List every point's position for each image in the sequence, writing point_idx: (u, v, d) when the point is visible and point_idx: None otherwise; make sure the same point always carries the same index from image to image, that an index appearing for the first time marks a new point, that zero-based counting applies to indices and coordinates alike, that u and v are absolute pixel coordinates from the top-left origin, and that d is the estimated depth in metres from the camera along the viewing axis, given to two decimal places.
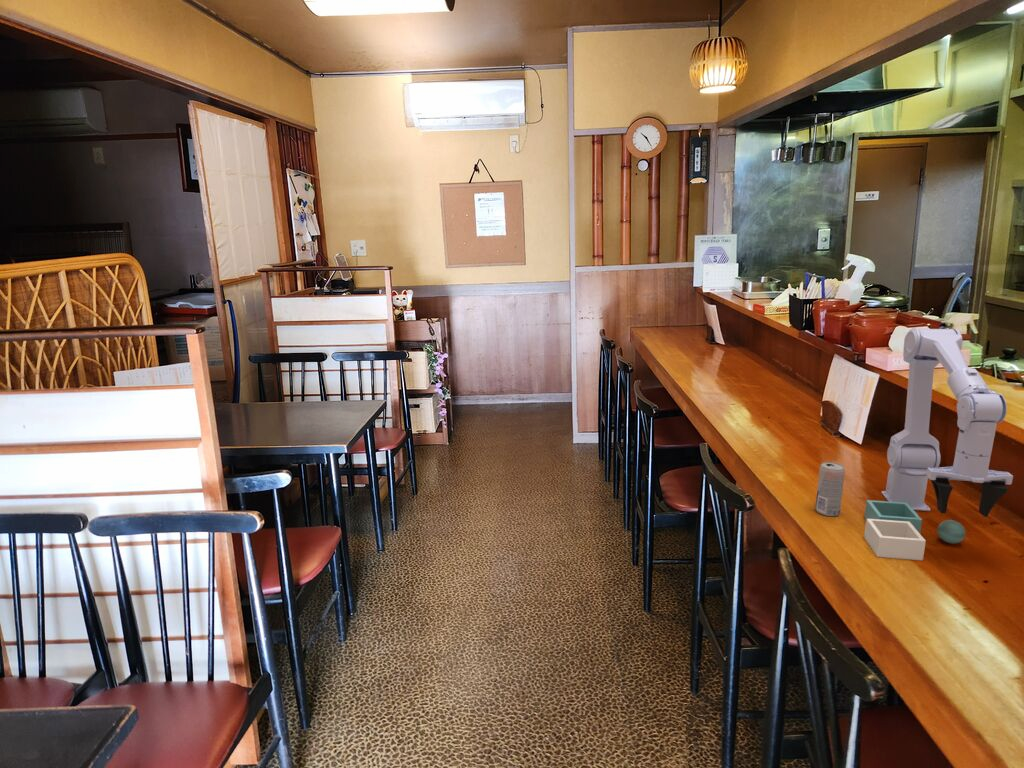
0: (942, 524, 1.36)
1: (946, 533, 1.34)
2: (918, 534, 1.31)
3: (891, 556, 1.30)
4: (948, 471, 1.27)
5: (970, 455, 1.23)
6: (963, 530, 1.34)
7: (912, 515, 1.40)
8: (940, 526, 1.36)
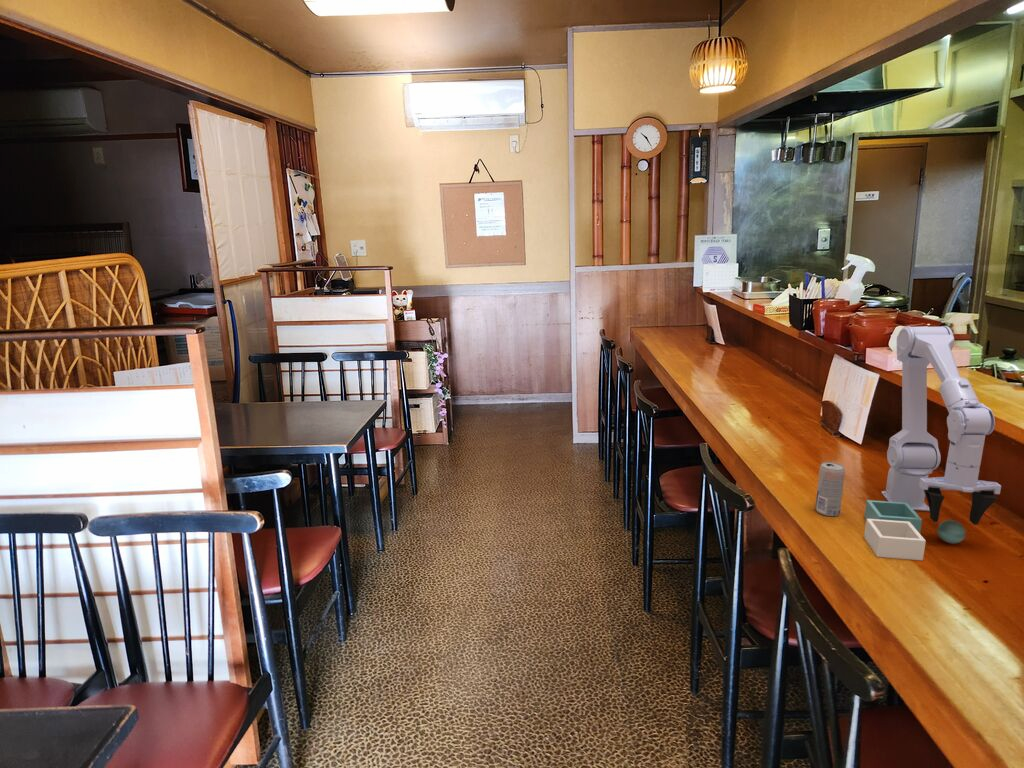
0: (942, 524, 1.36)
1: (946, 533, 1.34)
2: (918, 534, 1.31)
3: (891, 556, 1.30)
4: (940, 481, 1.33)
5: (960, 466, 1.30)
6: (963, 530, 1.34)
7: (912, 515, 1.40)
8: (940, 526, 1.36)
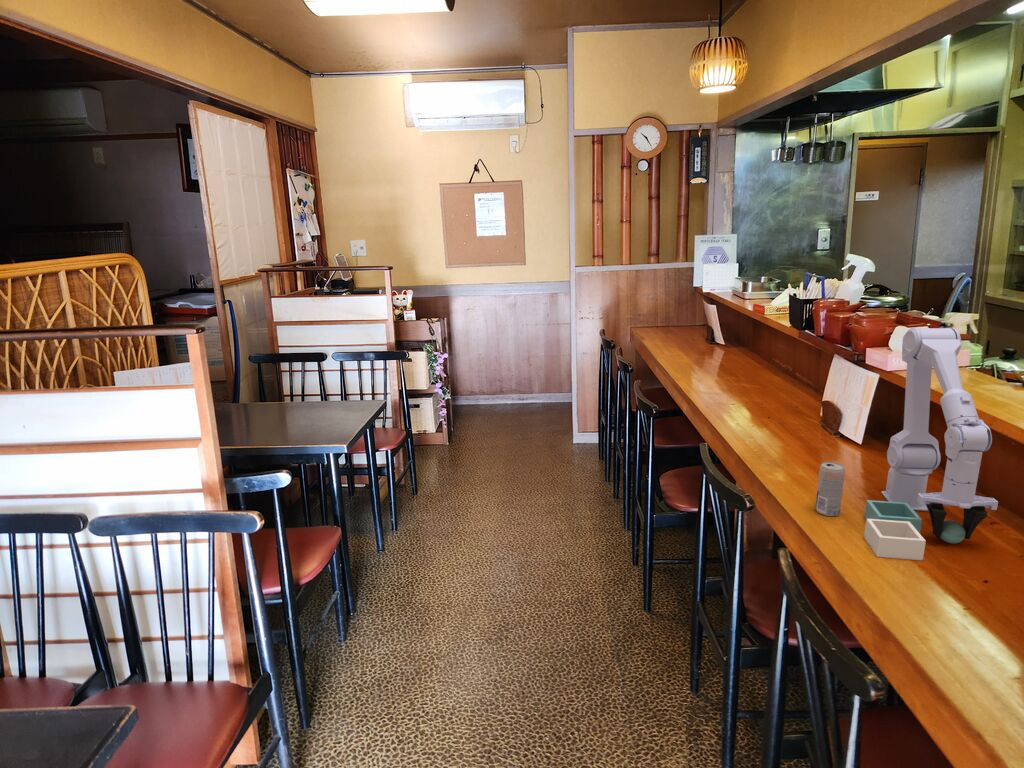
0: None
1: (946, 533, 1.34)
2: (918, 534, 1.31)
3: (891, 556, 1.30)
4: (937, 497, 1.34)
5: (957, 482, 1.31)
6: (963, 530, 1.34)
7: (912, 515, 1.40)
8: None
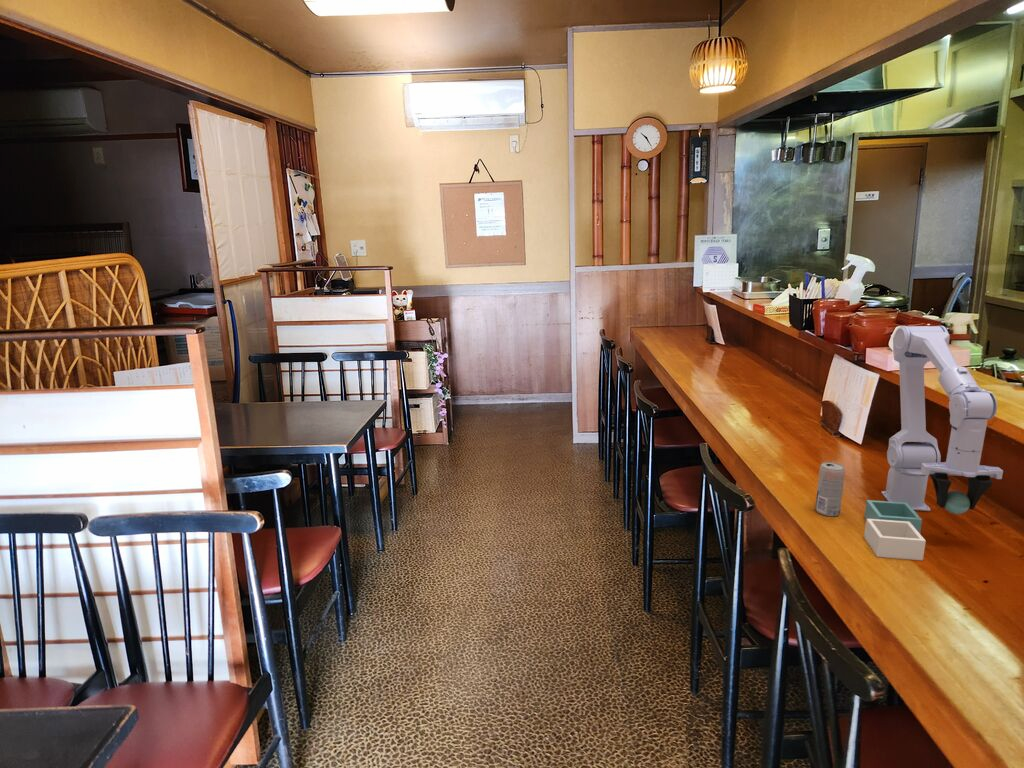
0: None
1: (950, 503, 1.33)
2: (918, 534, 1.31)
3: (891, 556, 1.30)
4: (941, 466, 1.33)
5: (962, 451, 1.29)
6: (968, 500, 1.32)
7: (912, 515, 1.40)
8: None
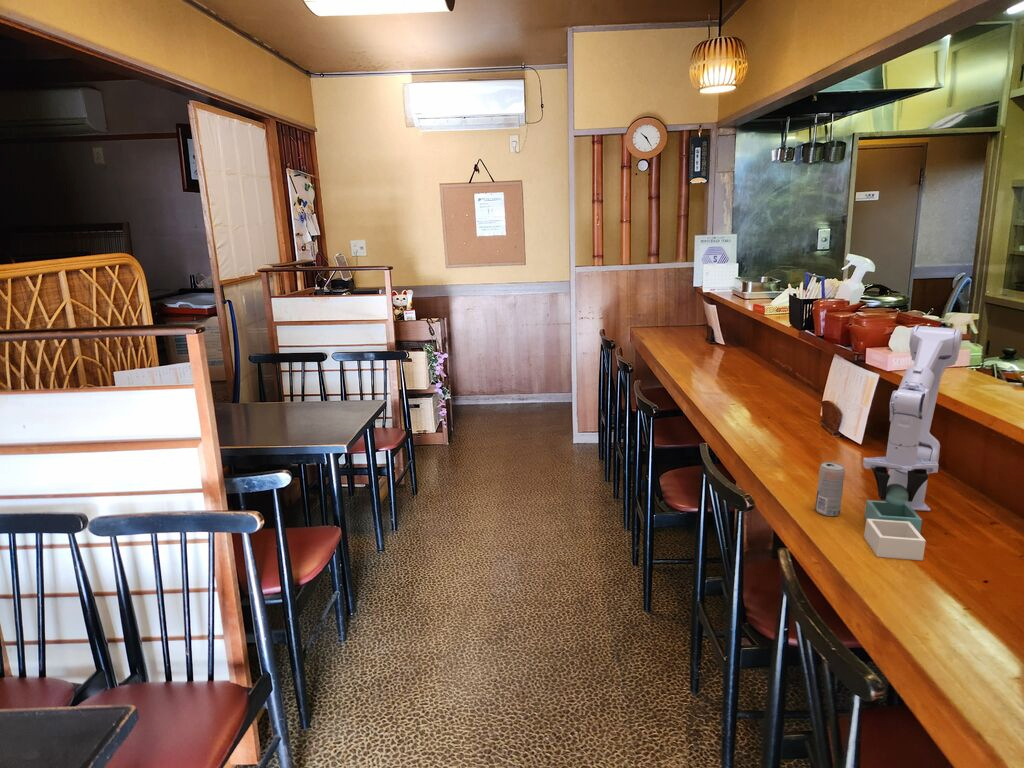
0: (887, 487, 1.41)
1: (890, 496, 1.40)
2: (918, 534, 1.31)
3: (891, 556, 1.30)
4: (881, 461, 1.40)
5: (899, 446, 1.36)
6: (906, 493, 1.39)
7: (912, 515, 1.40)
8: None
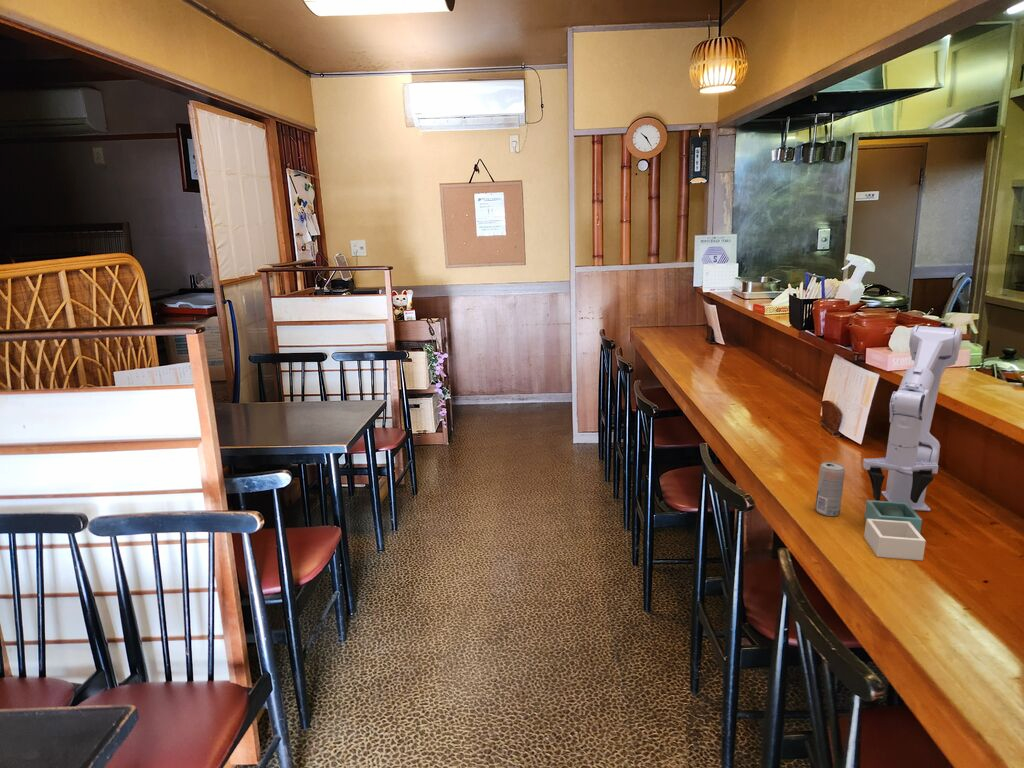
0: (883, 510, 1.42)
1: None
2: (918, 534, 1.31)
3: (891, 556, 1.30)
4: (881, 461, 1.40)
5: (899, 447, 1.36)
6: (902, 516, 1.40)
7: (912, 515, 1.40)
8: (881, 512, 1.43)
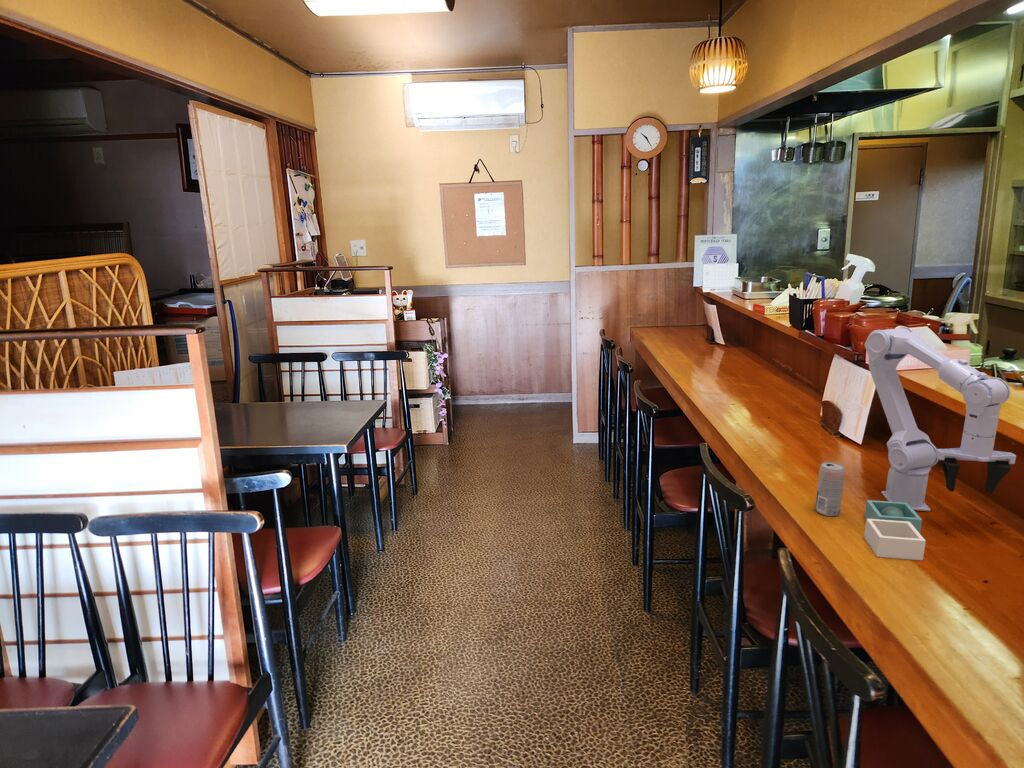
0: (883, 511, 1.42)
1: None
2: (918, 534, 1.31)
3: (891, 556, 1.30)
4: (956, 452, 1.38)
5: (976, 436, 1.34)
6: (902, 516, 1.40)
7: (912, 515, 1.40)
8: (881, 513, 1.43)
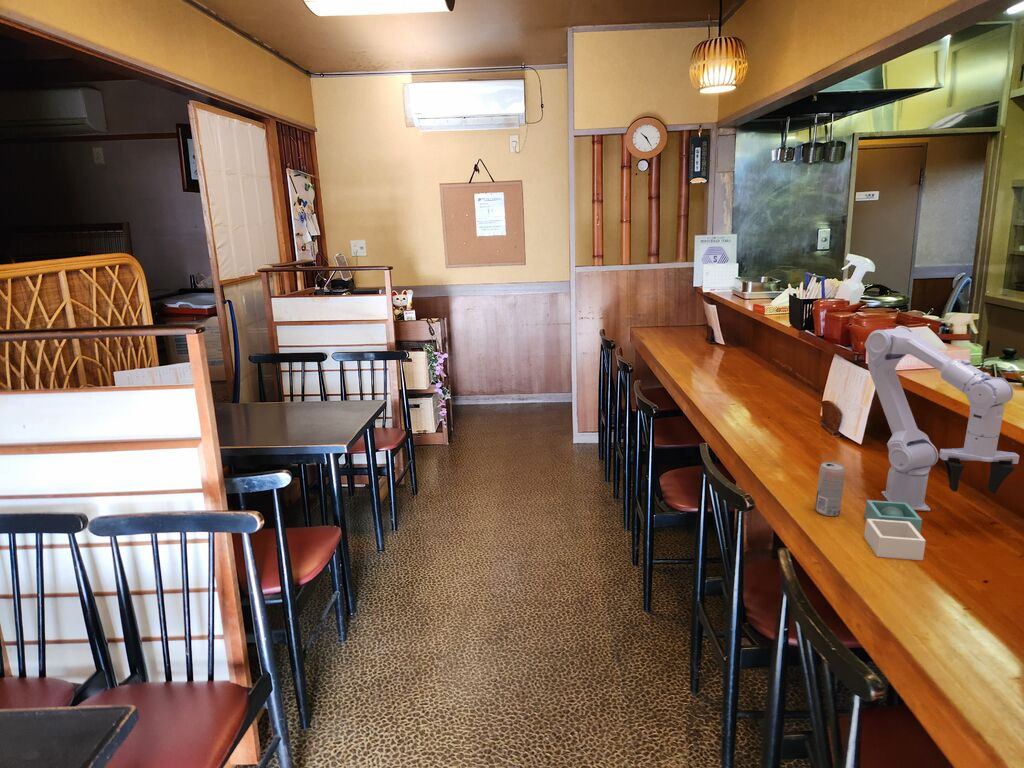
0: (883, 511, 1.42)
1: None
2: (918, 534, 1.31)
3: (891, 556, 1.30)
4: (959, 452, 1.38)
5: (980, 436, 1.34)
6: (902, 516, 1.40)
7: (912, 515, 1.40)
8: (881, 513, 1.43)
